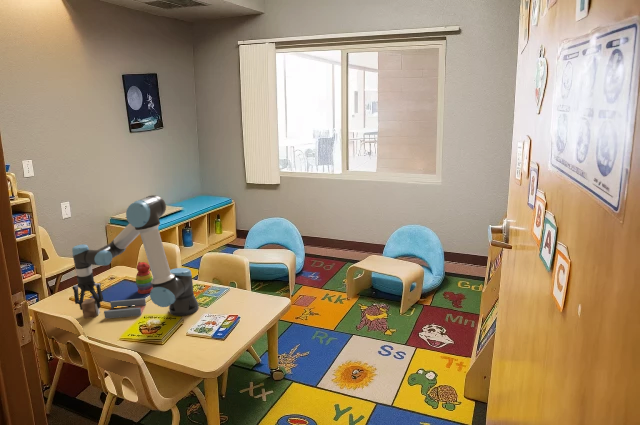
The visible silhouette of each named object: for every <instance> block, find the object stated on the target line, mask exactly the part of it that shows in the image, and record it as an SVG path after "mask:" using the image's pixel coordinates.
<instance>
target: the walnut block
mask: <svg viewBox="0 0 640 425" xmlns="http://www.w3.org/2000/svg"><path fill="white" fill-rule="evenodd" d="M95 303H96V301H95V299H94V298H84V299H83V303H82V304H81V306H82V310H81V311H82V315H83V319H90V318H96V317H98V315H97V313H96V307H95Z"/></svg>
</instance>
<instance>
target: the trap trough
mask: <svg viewBox="0 0 640 425" xmlns="http://www.w3.org/2000/svg"><path fill="white" fill-rule="evenodd" d="M131 305H135V307H128V308H117V309H113V308H114V307H117V306H131ZM146 305H147V303H146V297H145V298H133V299H122V300H121V299H120V300H111V301H110V309H107V310H103V314H104V319H105V320H106V319H107V320H108V319H116V318H118V319H119V318H129V317H139V316H142V314H143V312H144V310H145V308H146Z"/></svg>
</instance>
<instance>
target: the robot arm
mask: <svg viewBox="0 0 640 425" xmlns="http://www.w3.org/2000/svg"><path fill="white" fill-rule="evenodd" d="M166 211H167V204H166V202H165V199H164V198H162V197H160V196H159V195H154V194H151V195H148V196H146V197H143V198H141V199H137V200H135V201H134V202H132V203H130V204H129V205H128V207H127V208H126V212H125V216H126V220H127V222H128V224H126V226H125V227H124V228H123V229H122V230H121V231H120V232H119V233H118V234H117V235H116V236H115V237H114V238H113V240H112V241H111V242H110V243H108V244H106V245H105V246H102V247H100V248H98V249H90V248H89V246H88V244H83V243H82V244H78V245H75V246H73V247H72V249H71V250H72V251H71V253H72V257H73V262H74V263H73V265H74V269H75V274H76V280H77V284H74V285H73V286H72V287H71V288H72V291H73V297H74V303H75V305H79V310H80V311H82V306H81V304H82V303H83V301H84V300H85V294H86V292H89V293H90V294H91V295H92V299H95V301H96V303H95V307H96V313H97V316H98V315H99V314H100V313H101V311H100V308H101V302H103V301H104V296H103V295H104V294H103V291H102V289H101V287H102V283H101V282H98V283H96V281H95V279H94V273H93V267H92V265H93V266H108V265H110V264H111V262H112V260H113V259H114V258H115V257H117V256H119V255H120V256H121V254H122V253H124V252H125V251H126V249H127V247H129V245H130V244H132V243H133V242H134V240H135V239H136V238H138V237H139V236H140V238H141V241H142V244H143V249H144V251H145V255H146V258H147V261H148V262H147V263H148V265H150V268H149V270H150V273H151V275H152V278H153V279H152V281H151V284H152V287H153V289H152V290H151V292H150V293H149V297H150V300H151V301H152V303H153V304H155V306H157V307H160V308H167V307H168V309H169V310H168V311H169V314H170V315H172V316H176V317H184V316H189V315H192V314H194V313H196V312H197V311H198V310H199V309H200V308H199V302H198V300H197V298H196V296H195V294H194V283H193V275H192V271H191V269H189V268H187V267H177V268H172V269H171V268H170V266H169V261H168V259H167V255H166V251H165V248H164V244H163V241H162V238H161V237H162V236H161V233H160V230H159V226H160V225H161V222H160V218H161V217H163V215H164V214H165V212H166ZM94 287H95V288H94ZM79 289H80V296H79ZM95 289H96V290H95Z"/></svg>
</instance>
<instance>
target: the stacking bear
mask: <svg viewBox="0 0 640 425" xmlns="http://www.w3.org/2000/svg"><path fill="white" fill-rule="evenodd" d="M136 270H137V273H136V274H135V275H136V276H135V285H136V287H137V293H138V294H142V295H143V294H150V292H151V290H152V289H153V287H152V284H151V281H152V279H153V276H152V272H151V270H150V265H149V263H148V262H144V261H143V262H141V261H139V262H138V263H137V266H136Z"/></svg>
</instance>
